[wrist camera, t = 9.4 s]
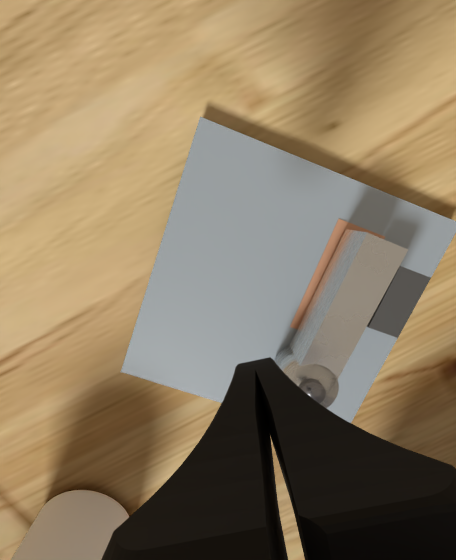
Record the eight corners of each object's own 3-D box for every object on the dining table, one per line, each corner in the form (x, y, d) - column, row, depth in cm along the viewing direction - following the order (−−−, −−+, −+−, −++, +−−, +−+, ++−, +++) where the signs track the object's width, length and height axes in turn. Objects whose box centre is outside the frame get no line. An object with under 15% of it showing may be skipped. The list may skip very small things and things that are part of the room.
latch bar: (310, 393, 21) (326, 426, 18) (266, 378, 21) (274, 409, 18) (387, 246, 18) (422, 254, 15) (338, 226, 18) (363, 229, 15)
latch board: (448, 222, 19) (505, 225, 16) (336, 430, 23) (359, 474, 20) (201, 121, 18) (195, 97, 14) (125, 364, 22) (104, 398, 18)
